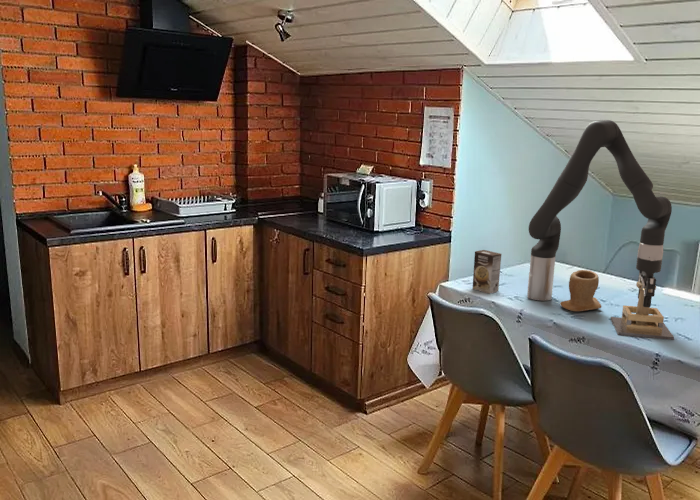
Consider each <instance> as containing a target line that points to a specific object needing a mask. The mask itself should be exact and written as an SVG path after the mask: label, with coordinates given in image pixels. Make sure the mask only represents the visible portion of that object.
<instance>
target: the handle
mask: <svg viewBox="0 0 700 500" xmlns="http://www.w3.org/2000/svg"><path fill="white" fill-rule="evenodd" d="M636 288H637V289H638V290H639V289H640V294H639V299H638V298H637V299H638V301H637V305H636V307H637V309H636V313H635V314H643V315H650V314H649V308H650V307H644V306H643V300H644V290H643V289H642V282H638V281H637V282H636ZM656 289H657V286H656V285H655V291H656ZM648 292H650V290H648ZM646 323H647V322H645V321H636V325H646Z"/></svg>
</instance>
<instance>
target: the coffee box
mask: <svg viewBox="0 0 700 500" xmlns="http://www.w3.org/2000/svg"><path fill="white" fill-rule="evenodd" d="M501 264H502V253H500V252H495V251H490V250H486V249H481V250H480V249H479V250H476V251H474V259H473V276H472V277H473V278H472V290H475V291H478V290H479V291H478V292H482V293H485V294H489V295H490V293H491V294H494V293H498V292H499V288H500V287H499V286H500V276H501V275H500V274H501ZM497 291H498V292H497Z"/></svg>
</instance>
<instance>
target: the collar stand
mask: <svg viewBox="0 0 700 500" xmlns="http://www.w3.org/2000/svg"><path fill="white" fill-rule="evenodd" d="M636 309H637V305H636V306H633V305H622V311H621V317H619V316H617V317H616V316H610V322H611V324H612V325H613V328H614V329H615V332H616V334H617V335H618V336H626V337H637V338H648V339H660V340H668V341H669V340H670V341H674V340H675V336H674V335H673V333H672V332H671V331H670V330H669V328H668V327H667V326H666V323H665V322H664V319H665V317H664V316H663V314H662V313H661V311H660V309H658V308H656V307H649V315H643V314H636ZM636 321H645V322H647V323H646V325H636Z"/></svg>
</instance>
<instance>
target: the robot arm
mask: <svg viewBox="0 0 700 500" xmlns="http://www.w3.org/2000/svg"><path fill="white" fill-rule="evenodd" d="M601 148H606V149H607V151H609V153H610V154H611V155H612V157H613V158H614V161H615V162H616V166H617V169H618V174H619V177H620V178H621V180H622V182H623V184H624V186H625V187H626V188H627V189H628V190H629V192H630V194H632V198H633V199H634V202H635V205H636V207H637V209H638V211H639V212H640V214H641V215H642V216H643V217H644V218H646V219H647V221H646V224H645V225H643V226H642V228H641V231H640V240H639V245H638V249H637V258H636V265H635V266H636V267H635V269H636V270H637V271H638V277H637V282H642V289H643V290H644V300H643V306H644V307H649V308H651V306H652V297H654V298H655V291H656V290H655V286H656V284H657V283H656V282H657V278H655V277H654V274H658V273H660V272H661V269H662V266H663V265H662V264H663V257H664V256H663V255H664V243H665V233H666V230H667V227H668V224H669V222H670V218H671V216H672V213H673V212H672V203H671V201H670V199H669V198H667V197H665V196H656V195H655V194H654V191H653V189H654V183H653V181H651V179H650V177H649V176H648V175H647V173H646V172H645V171H644V169H643V168H642V167H641V165H640V164H639V163H638V161H637V159H636V157H635V156H634V154H633V152H632V151H631V148H630V146H629V144H628V142H627V141H626V138H625V136H624V134H623V132H622V131H621V129H620V127H619V125H618V124H617V123H616V121H613V120H612V119H610V120H609V119H604V120H603V119H602V120H595V121H591V122H590V123H589V124H587V125H586V127H585V128H584V130H583V131H582V134H581V137H580V139H579V141H578V143H577V146H576V147H575V150H574V152H573V153H572V155H571V157H570V159H569V160H568V162H566V165H565V167H564V169H563V170H562V171H561V173H560V175H559V176H558V178H557V179H556V182H555V183H554V185H553V187H552V189H551V190H550V191H549V194H548V195H547V197H546V198H545V200H544V202H543V203H542V204H541V206H540V207H539V209H538V210H537V211H536V213H535V214H534V215H533V216H532V218H531V219H530V222H529V224H528V233H529V236H530V237H531V238H532V239H534V240H538V242H537V243H536V244H535V245H533V246H532V248H531V250H530V260H529V261H530V262H529V264H530V265H529V272H528V282H527V283H528V285H527V293H526V294H527V295H526V296H527V299H530V300H534V301H541V302H543V301H544V302H547V301H551V300H552V299H553V297H552V296H553V290H554V288H553V287H554V277H555V266H556V254H557V252H558V250H559V247H560V246H559V245H560V239H561V233H562V225H561V224H562V223H561V221H560V219H559V217H558V216H557V215H558V214H559V213H560V212H561V211H563V210H564V209H565V208H566V207H567V206H568V205H570V204H571V203H573V201H575V199H577V197H578V196H579V194H580V193H581V192H582V190H583V188H584V187H585V185H586V183H587V182H588V177H589V171H590V170H589V169H590V166H591V163H592V160H593V159H594V157H595V156H596V154H597V153H598V152H599V151H600V149H601ZM648 290H650V292H648ZM639 294H640V289H639V288H638V294H637V299H639Z"/></svg>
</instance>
